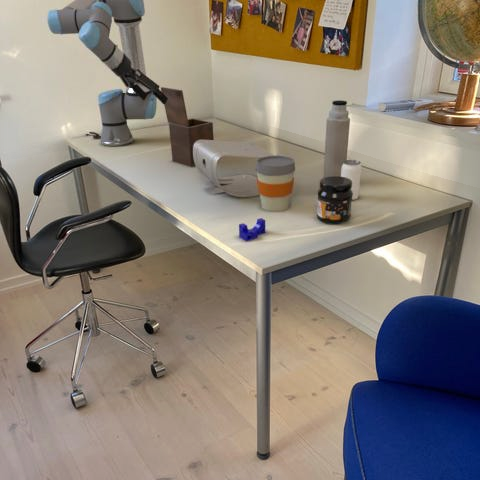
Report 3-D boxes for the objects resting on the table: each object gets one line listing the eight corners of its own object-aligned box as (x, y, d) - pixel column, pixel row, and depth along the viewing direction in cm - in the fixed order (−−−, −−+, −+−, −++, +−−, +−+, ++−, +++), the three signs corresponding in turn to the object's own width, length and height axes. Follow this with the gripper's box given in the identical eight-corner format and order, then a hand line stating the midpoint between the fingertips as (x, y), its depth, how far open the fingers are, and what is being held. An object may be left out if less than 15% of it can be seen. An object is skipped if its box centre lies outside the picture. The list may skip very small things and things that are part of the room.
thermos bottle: (325, 178, 196) (330, 98, 181) (346, 179, 193) (353, 99, 178) (321, 184, 189) (325, 102, 174) (342, 186, 187) (349, 103, 172)
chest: (195, 154, 228) (192, 118, 220) (214, 160, 220) (212, 122, 212) (172, 161, 221) (168, 123, 213) (191, 166, 213) (188, 127, 205)
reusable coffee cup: (266, 215, 165) (266, 168, 157) (250, 203, 175) (249, 158, 167) (300, 209, 169) (302, 163, 161) (283, 197, 179) (283, 153, 171)
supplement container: (310, 221, 160) (312, 183, 153) (324, 210, 167) (326, 173, 161) (342, 227, 155) (346, 188, 149) (355, 216, 163) (359, 178, 156)
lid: (162, 87, 204) (160, 87, 204) (182, 90, 196) (180, 90, 196) (169, 122, 213) (167, 122, 212) (189, 126, 205) (187, 127, 204)
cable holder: (246, 241, 149) (245, 228, 147) (239, 237, 151) (238, 224, 149) (268, 234, 153) (268, 221, 150) (261, 230, 155) (261, 218, 153)
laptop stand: (194, 182, 196) (191, 140, 187) (251, 173, 203) (250, 132, 195) (218, 203, 176) (216, 157, 168) (280, 192, 183) (281, 147, 175)
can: (354, 202, 173) (357, 166, 167) (336, 198, 176) (338, 163, 170) (361, 196, 178) (364, 161, 171) (343, 193, 181) (346, 158, 174)
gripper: (141, 54, 180) (179, 94, 197) (103, 50, 196) (142, 88, 213) (131, 72, 180) (169, 111, 197) (94, 67, 196) (132, 103, 212)
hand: (155, 99), depth 205 cm, fingers open, 13 cm apart
